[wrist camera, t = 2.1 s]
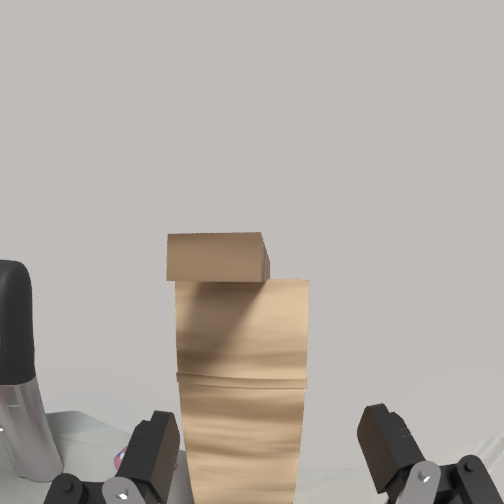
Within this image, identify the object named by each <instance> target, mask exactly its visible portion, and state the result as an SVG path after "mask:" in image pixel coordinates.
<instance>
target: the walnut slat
mask: <svg viewBox="0 0 504 504" xmlns="http://www.w3.org/2000/svg"><path fill="white" fill-rule="evenodd" d="M268 279H270V261H269V258H268V255H267V251H266V248H265V245H264V241H263V238H262V235H261V233H260V232H256V233H255V232H254V233H195V234H194V233H191V234H168V241H167V281H204V282H262V281H265V280H268Z"/></svg>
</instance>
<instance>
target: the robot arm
mask: <svg viewBox="0 0 504 504" xmlns="http://www.w3.org/2000/svg"><path fill="white" fill-rule="evenodd" d="M357 437H358V441H359V444H360V446H361V449H362V452H363V454H364V457H365V459H366V462H367V465H368V468H369V471H370V473H371V476H372V479H373V482H374V484H375V487H376V490H377V493H378V494H381V493H384V492H387V494H388V497H387V499H386V501H385V503H384V504H504V503H503V501H502V499H501V497H500V495H499V493H498V491H497V489H496V487H495V485H494V483H493V481H492V479H491V477H490V475H489V474H488V472H487V470H486V468H485V466H484V464H483V463H482V461H481V459H480V458H478V457H477V456H475V455H467V456H464V457H463V458H461V459H460V461H459V462H458V463H457V464H451V465H444V466H438V465H437V464H435V463H434V462H431V461H426V460H425V458H424V457H423V455H422V453H421V451H420V450H419V447H418V445H417V444H416V442H415V440H414V438H413V436H412V435H411V433H410V431H409V429H408V428H407V426H406V424H405V422H404V420H403V419H402V418H401V417H400V416H399V415H397V414H396V413H395V412H391V413H389V411H388V409H387V408H386V406H385V405H384V404H383V403H381V404H377V405H372V406H367V407H366V408H365V410H364V413H363V415H362V418H361V420H360V423H359V426H358V429H357ZM0 438H1V441H2V443H3V446H4V448H5V450H6V452H7V454H8V457H9V459H10V461H11V463H12V465H13V467H14V469H15V471H16V473H17V475H18V476H19V477H25V478H28V479H30V480H32V481H37V482H47V481H52V480H53V482H52V484H51V486H50V489H49V491H48V494H47V496H46V499H45V501H44V504H158V503H160V504H166V503H167V499H168V494H169V489H170V485H171V480H172V476H173V471H174V467H175V463H176V458H177V454H178V450H179V445H180V434H179V430H178V427H177V424H176V420H175V417H174V414H173V413H172V412H164V411H154V413H153V415H152V418H151V421H145V420H143V421H142V422H141V423H140V424H138V425H137V426H136V427H135V429H134V432H133V434H132V436H131V439H130V441H129V444H128V446H127V449H126V451H125V454H124V457H123V459H122V462H121V464H120V467H119V469H118V472H117V474H116V475H115V476H114V477H113V478H110V479H108V480H107V481H106V482H83V481H80V480H79V479H78V478H77V477H76V476H74V475H72V474H68V473H63V474H61V473H62V471H63V463H62V461H61V458H60V455H59V453H58V451H57V448H56V445H55V443H54V440H53V437H52V434H51V431H50V428H49V425H48V421H47V418H46V414H45V411H44V407H43V404H42V400H41V396H40V391H39V388H38V382H37V377H36V372H35V366H34V339H33V322H32V287H31V280H30V276H29V273H28V270H27V268H26V267H25V266H24V265H23V264H22V263H20V262H18V261H11V260H0Z"/></svg>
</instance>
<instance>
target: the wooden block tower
mask: <svg viewBox="0 0 504 504" xmlns="http://www.w3.org/2000/svg"><path fill="white" fill-rule="evenodd" d="M175 315H176V347H177V366H178V372H177V373H176V375H177V382H179V394H180V405H181V415H182V425H183V432H184V441H185V449H186V456H187V463H188V469H189V475H190V481H191V487H192V492H193V498H194V503H195V504H293V500H294V493H295V486H296V478H297V470H298V462H299V453H300V443H301V434H302V422H303V410H304V396H305V388H306V387H307V377H306V362H307V336H308V280H305V279H268V280H265V281H262V282H204V281H175Z"/></svg>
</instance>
